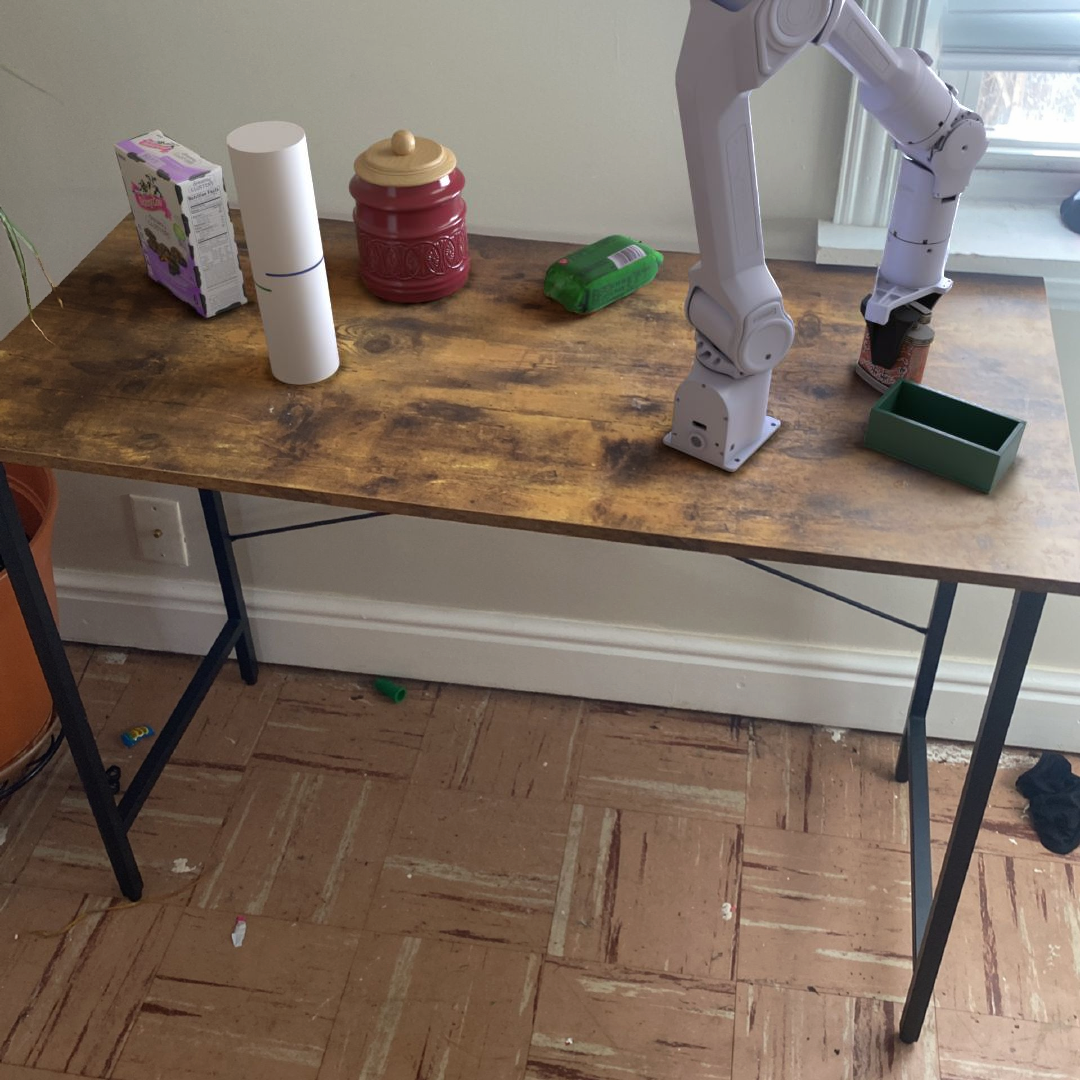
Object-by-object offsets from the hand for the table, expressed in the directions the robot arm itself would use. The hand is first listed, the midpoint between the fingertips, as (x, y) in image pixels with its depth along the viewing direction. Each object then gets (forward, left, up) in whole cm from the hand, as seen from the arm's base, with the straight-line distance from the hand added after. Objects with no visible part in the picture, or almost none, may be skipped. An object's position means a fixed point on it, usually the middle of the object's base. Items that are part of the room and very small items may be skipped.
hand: (892, 354), depth 119 cm
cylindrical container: (-33, +51, -4) cm, 61 cm away
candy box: (-29, +73, -4) cm, 79 cm away
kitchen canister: (-12, +54, -4) cm, 55 cm away
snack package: (-2, +34, -4) cm, 34 cm away
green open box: (-8, -9, -3) cm, 13 cm away
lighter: (0, 0, -4) cm, 4 cm away
